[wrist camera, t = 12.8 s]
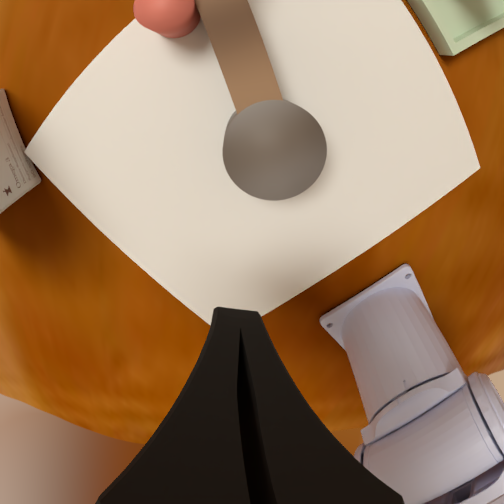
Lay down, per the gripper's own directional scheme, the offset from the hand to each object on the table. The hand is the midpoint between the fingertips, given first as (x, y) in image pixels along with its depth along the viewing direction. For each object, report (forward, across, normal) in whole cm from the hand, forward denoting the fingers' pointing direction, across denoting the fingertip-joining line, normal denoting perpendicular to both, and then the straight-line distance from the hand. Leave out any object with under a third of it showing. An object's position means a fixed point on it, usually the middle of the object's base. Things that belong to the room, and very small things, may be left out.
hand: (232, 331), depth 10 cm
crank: (+9, +1, -8) cm, 12 cm away
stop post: (+10, +5, -10) cm, 15 cm away
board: (+10, -1, -4) cm, 11 cm away
